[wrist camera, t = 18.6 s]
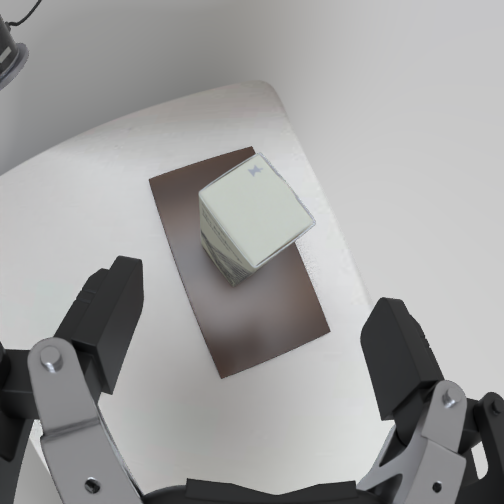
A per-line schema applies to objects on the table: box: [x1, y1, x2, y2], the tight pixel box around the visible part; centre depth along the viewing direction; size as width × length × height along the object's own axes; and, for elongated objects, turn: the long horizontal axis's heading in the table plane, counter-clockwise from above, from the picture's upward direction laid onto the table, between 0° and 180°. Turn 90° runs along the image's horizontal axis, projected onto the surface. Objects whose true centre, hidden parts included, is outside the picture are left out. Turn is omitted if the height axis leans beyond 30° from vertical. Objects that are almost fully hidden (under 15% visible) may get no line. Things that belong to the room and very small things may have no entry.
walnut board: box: [149, 146, 330, 379], centre depth 28 cm, size 20×11×1 cm, turn 22°
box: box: [199, 153, 316, 287], centre depth 22 cm, size 5×4×13 cm
